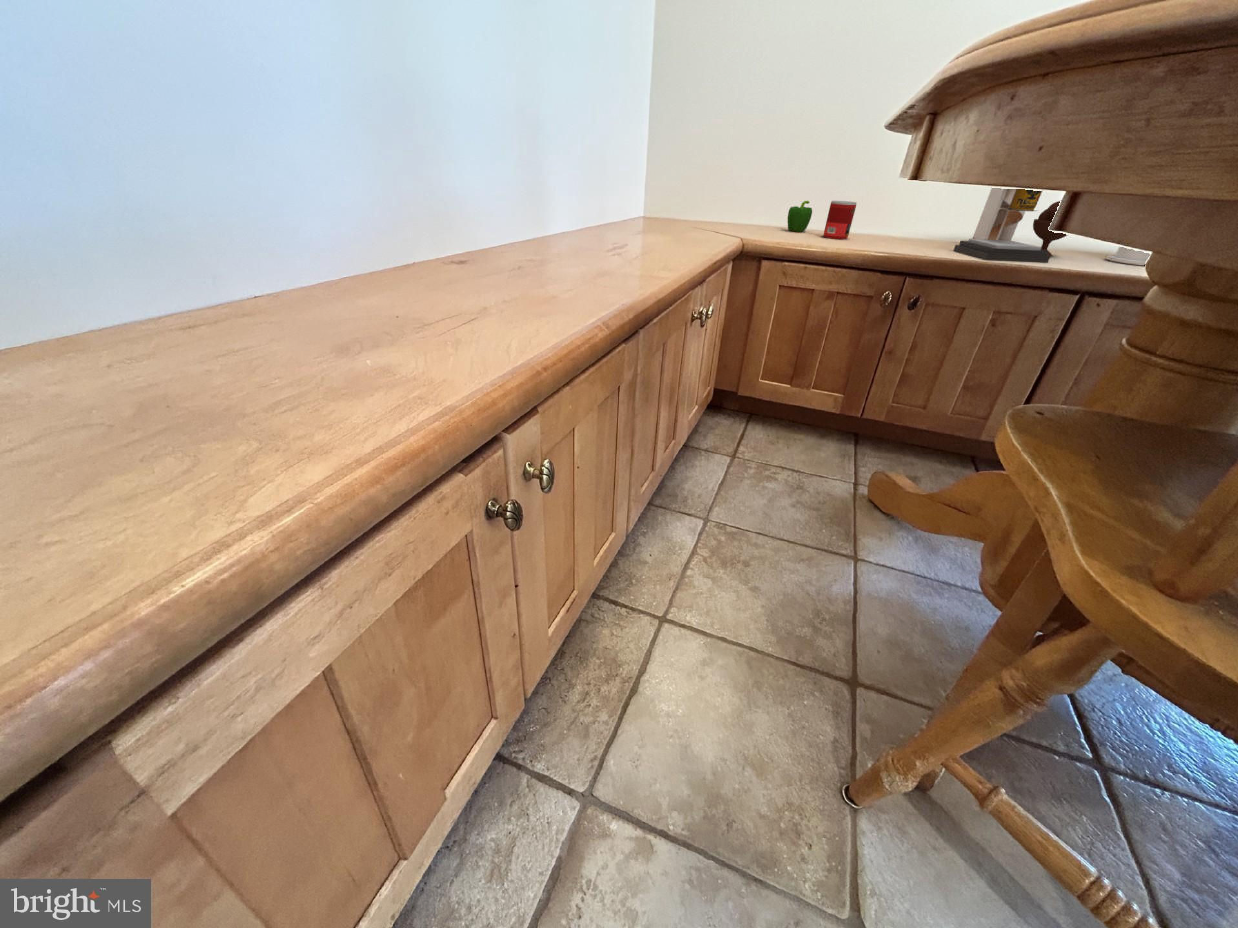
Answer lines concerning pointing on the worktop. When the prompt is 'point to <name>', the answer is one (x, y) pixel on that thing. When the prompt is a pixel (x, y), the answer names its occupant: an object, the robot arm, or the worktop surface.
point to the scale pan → (1004, 244)
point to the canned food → (839, 219)
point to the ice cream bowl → (1046, 227)
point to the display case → (998, 216)
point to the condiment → (1024, 200)
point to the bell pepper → (799, 217)
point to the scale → (1001, 253)
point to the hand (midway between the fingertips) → (1031, 180)
